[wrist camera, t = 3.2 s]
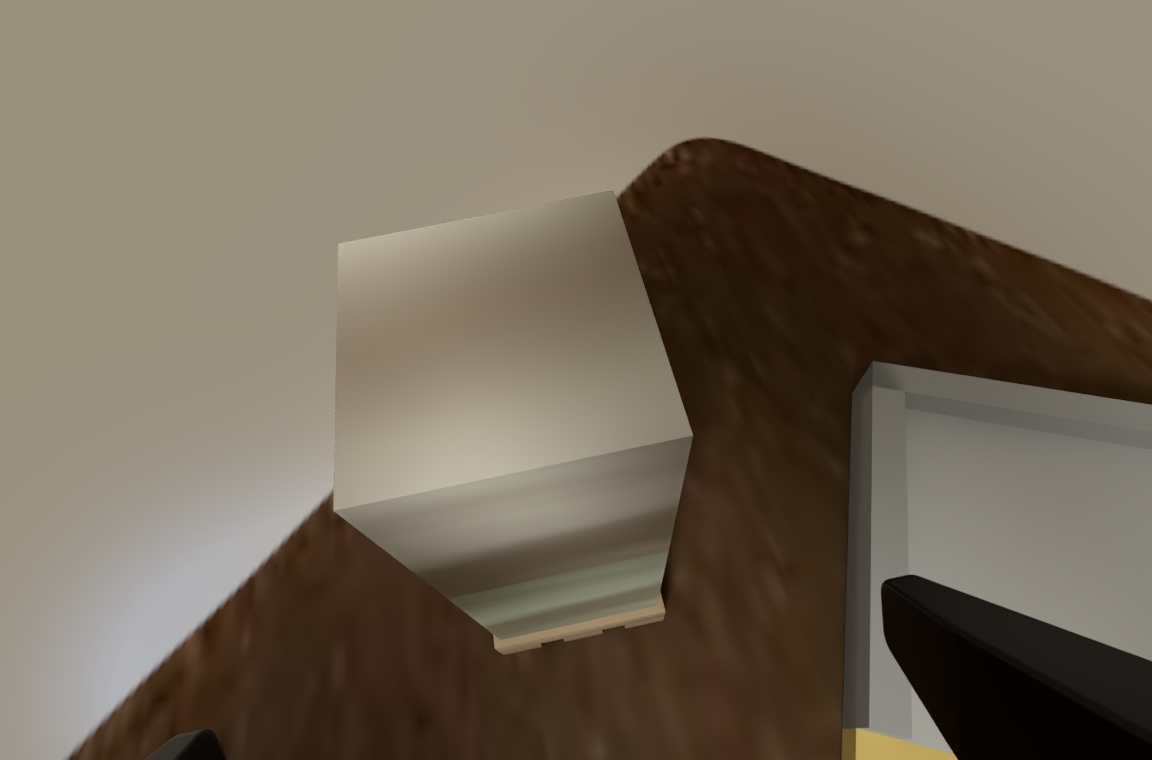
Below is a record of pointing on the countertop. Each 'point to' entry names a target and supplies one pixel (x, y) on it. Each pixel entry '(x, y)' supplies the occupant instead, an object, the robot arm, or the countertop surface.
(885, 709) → the pad
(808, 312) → the countertop surface
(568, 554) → the pale banded rectangular block
